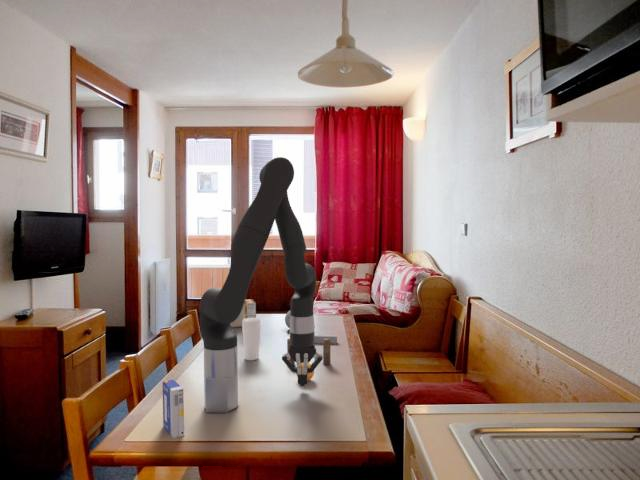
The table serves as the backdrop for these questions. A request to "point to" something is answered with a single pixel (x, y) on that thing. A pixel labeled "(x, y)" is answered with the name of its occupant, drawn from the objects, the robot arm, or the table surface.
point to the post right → (326, 351)
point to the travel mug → (239, 319)
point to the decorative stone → (287, 319)
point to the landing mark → (319, 350)
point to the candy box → (250, 308)
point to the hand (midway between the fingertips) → (302, 385)
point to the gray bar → (320, 338)
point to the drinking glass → (251, 337)
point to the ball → (308, 373)
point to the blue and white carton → (173, 408)
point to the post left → (288, 349)
